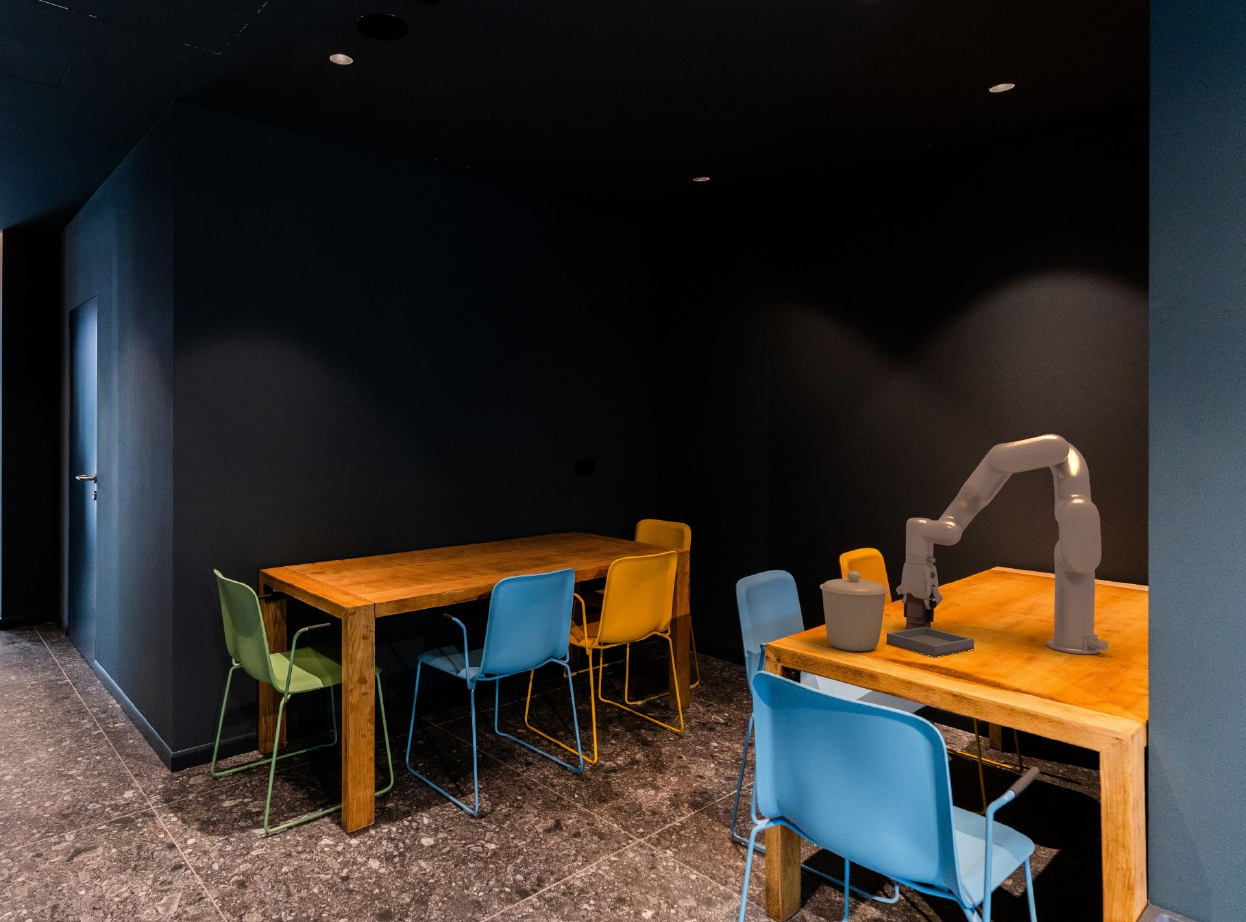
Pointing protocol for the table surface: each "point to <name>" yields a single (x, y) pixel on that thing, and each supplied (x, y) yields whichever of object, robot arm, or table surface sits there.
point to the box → (915, 612)
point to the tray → (930, 641)
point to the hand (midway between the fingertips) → (918, 618)
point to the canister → (853, 612)
